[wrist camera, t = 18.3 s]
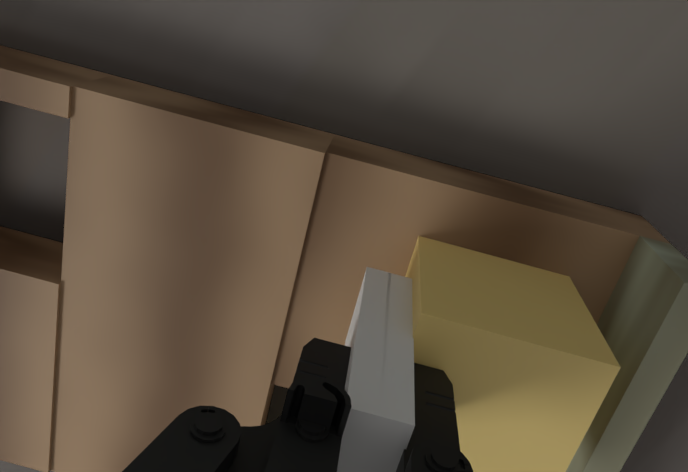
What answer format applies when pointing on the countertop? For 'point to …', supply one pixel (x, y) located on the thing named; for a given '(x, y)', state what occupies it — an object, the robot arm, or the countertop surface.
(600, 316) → the trap deck
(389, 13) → the countertop surface
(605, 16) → the countertop surface
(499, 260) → the cube
